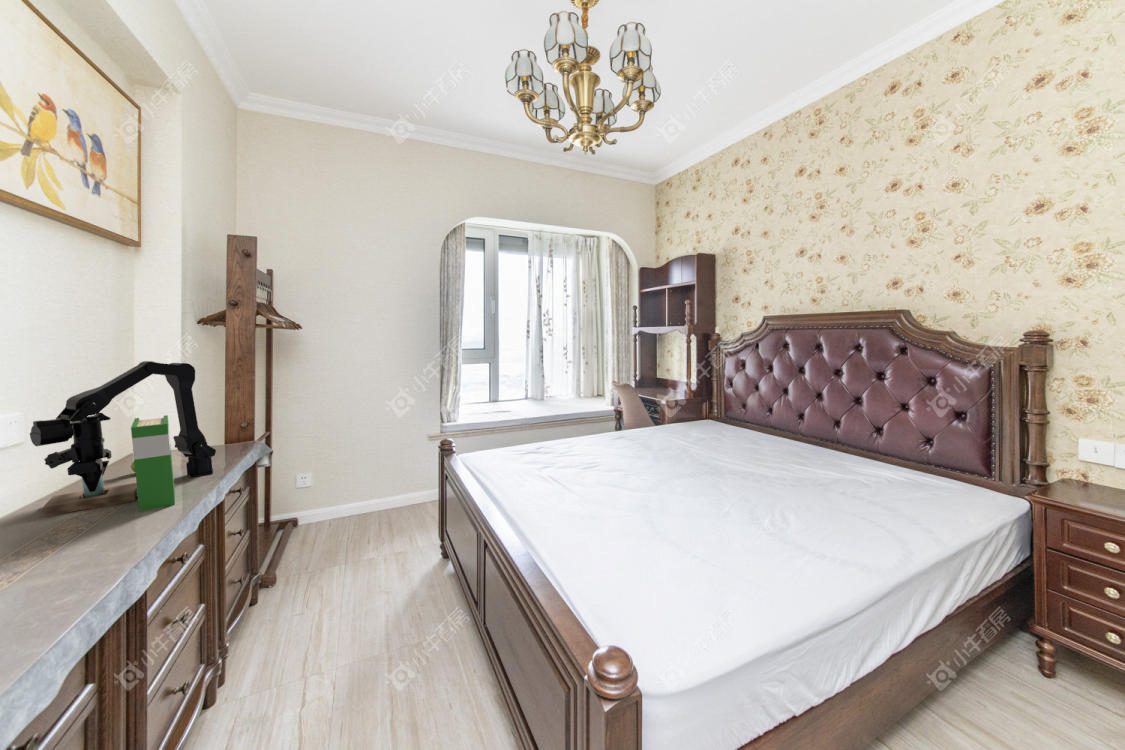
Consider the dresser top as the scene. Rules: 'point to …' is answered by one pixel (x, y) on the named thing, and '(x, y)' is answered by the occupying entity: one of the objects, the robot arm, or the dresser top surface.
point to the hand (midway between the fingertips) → (94, 489)
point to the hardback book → (153, 463)
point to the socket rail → (90, 499)
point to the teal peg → (98, 491)
